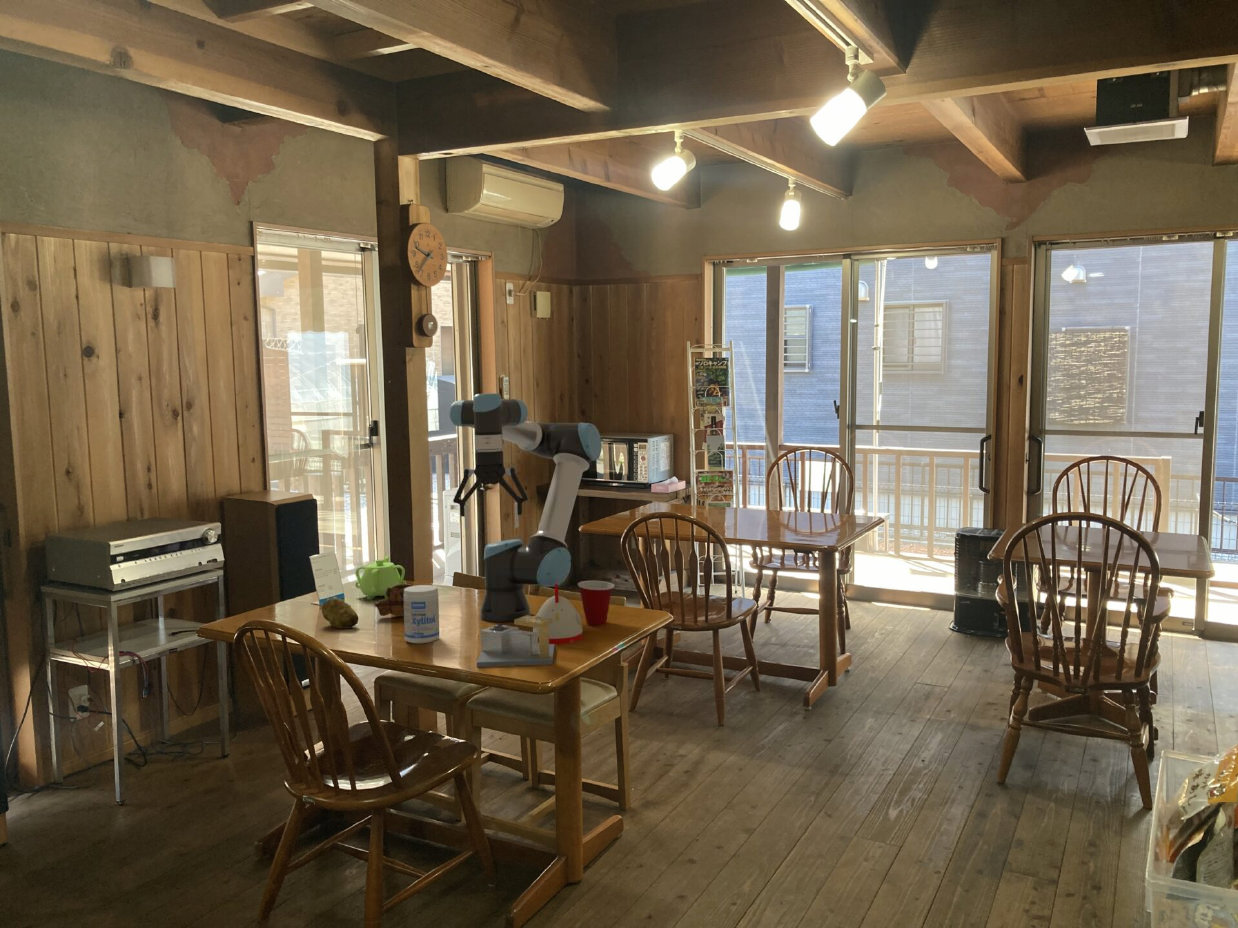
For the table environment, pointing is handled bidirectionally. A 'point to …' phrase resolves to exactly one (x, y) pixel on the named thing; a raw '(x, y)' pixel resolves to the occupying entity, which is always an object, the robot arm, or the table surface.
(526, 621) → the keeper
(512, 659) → the board
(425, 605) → the supplement tub
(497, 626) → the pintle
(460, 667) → the table surface
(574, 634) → the kitchen timer
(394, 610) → the wooden carving
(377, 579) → the green lidded pot
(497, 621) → the robot arm
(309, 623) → the table surface
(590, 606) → the plastic cup
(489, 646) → the link
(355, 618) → the potato
